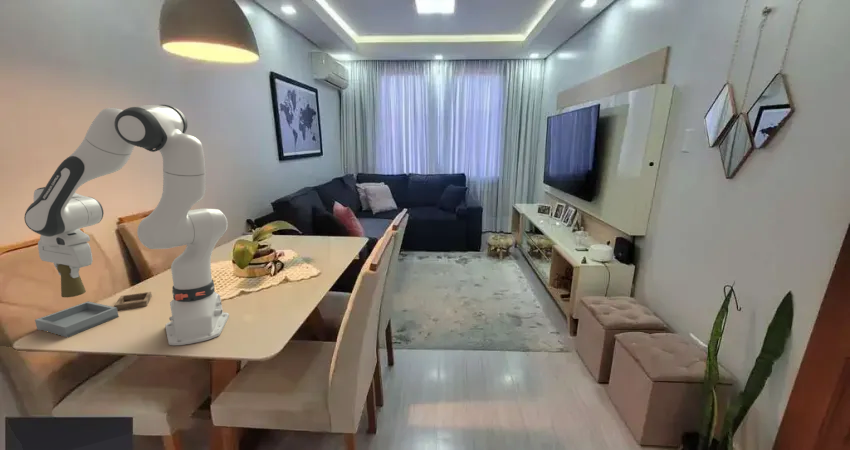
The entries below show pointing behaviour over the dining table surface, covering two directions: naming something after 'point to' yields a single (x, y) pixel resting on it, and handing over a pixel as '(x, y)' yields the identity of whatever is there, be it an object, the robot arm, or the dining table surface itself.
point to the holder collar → (122, 306)
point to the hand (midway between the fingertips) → (69, 276)
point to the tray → (76, 318)
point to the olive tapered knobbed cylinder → (70, 282)
